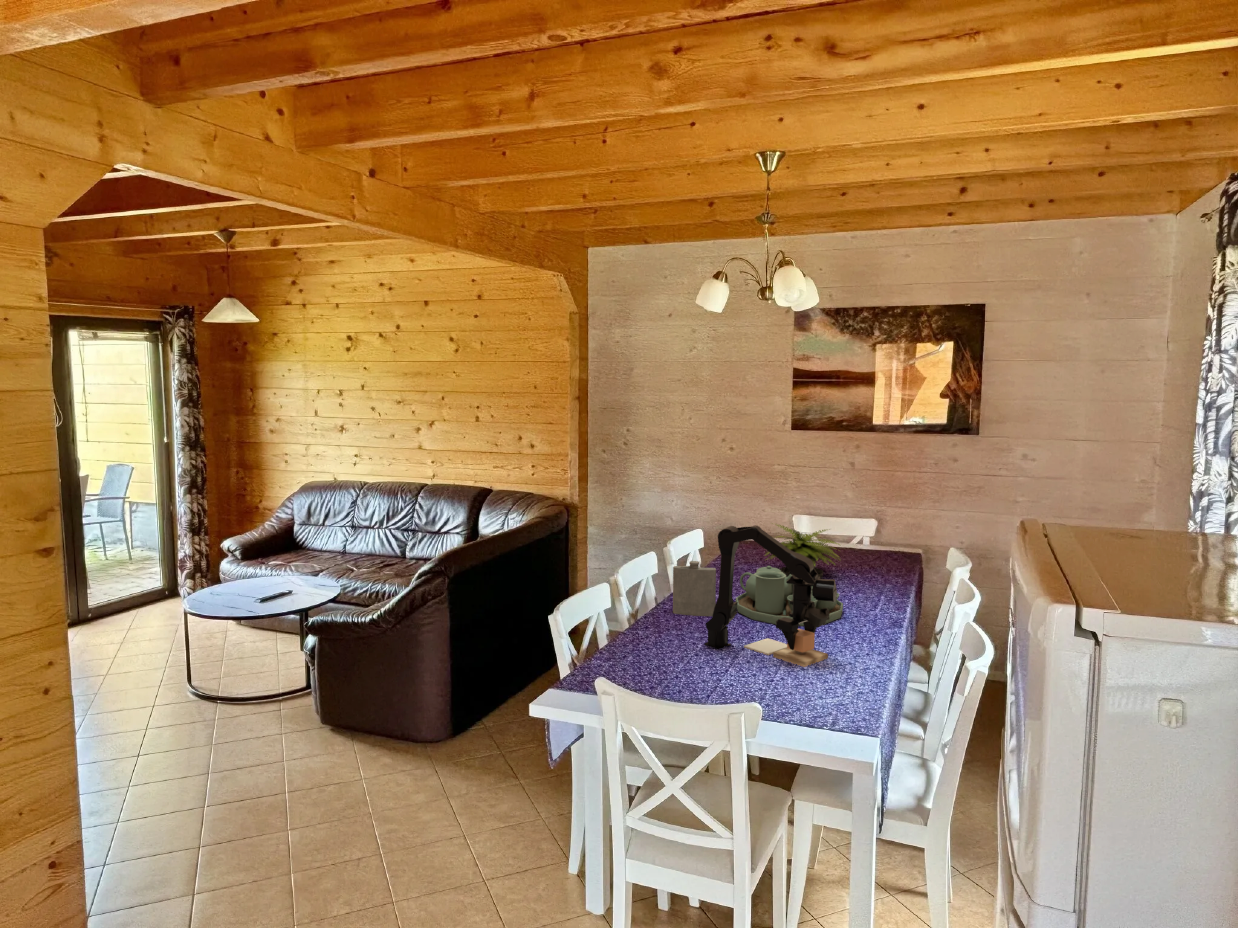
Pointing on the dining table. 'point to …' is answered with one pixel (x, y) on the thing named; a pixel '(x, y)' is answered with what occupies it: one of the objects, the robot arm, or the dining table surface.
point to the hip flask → (694, 590)
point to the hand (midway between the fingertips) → (800, 646)
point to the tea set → (775, 597)
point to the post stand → (800, 656)
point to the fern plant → (807, 548)
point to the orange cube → (804, 641)
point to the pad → (766, 646)
